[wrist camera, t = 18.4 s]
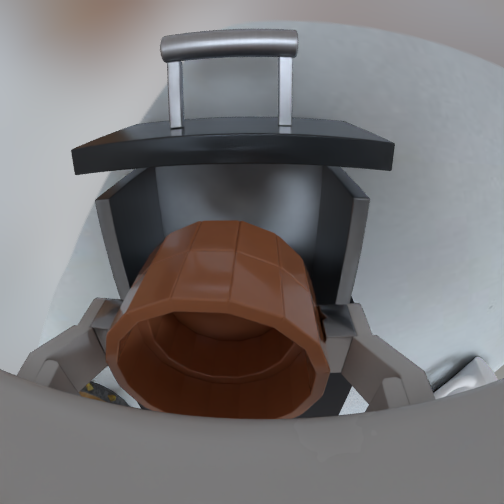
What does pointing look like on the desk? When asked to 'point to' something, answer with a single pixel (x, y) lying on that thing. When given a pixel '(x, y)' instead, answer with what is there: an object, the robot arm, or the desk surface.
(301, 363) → the terracotta cup
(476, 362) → the mug
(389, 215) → the desk surface
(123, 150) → the drawer
